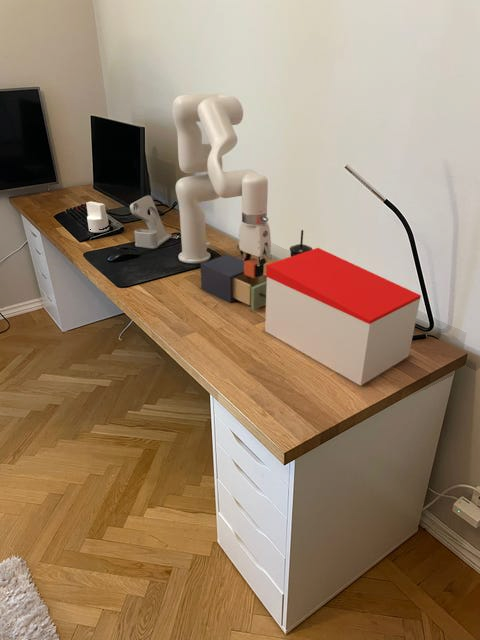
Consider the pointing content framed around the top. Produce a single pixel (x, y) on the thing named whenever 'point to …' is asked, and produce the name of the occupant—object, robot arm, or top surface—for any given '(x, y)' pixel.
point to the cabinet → (221, 275)
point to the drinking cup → (299, 247)
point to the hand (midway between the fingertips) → (253, 273)
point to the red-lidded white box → (340, 313)
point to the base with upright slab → (97, 217)
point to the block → (250, 267)
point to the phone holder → (148, 224)
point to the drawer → (250, 290)
